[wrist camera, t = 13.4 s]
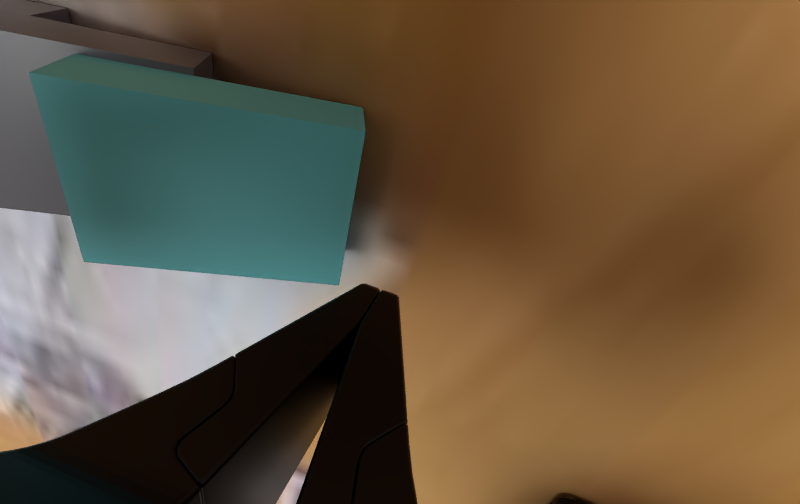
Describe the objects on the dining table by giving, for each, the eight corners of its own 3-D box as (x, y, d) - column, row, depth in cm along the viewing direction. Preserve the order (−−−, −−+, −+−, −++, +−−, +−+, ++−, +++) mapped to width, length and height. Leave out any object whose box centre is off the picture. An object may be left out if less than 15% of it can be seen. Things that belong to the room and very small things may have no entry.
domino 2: (365, 131, 10) (28, 72, 8) (338, 285, 13) (84, 261, 11) (363, 107, 11) (74, 53, 10) (339, 250, 14) (113, 225, 13)
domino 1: (193, 68, 10) (-160, -2, 9) (203, 231, 13) (-61, 200, 12) (211, 52, 12) (-89, -9, 10) (217, 202, 15) (-17, 172, 13)
